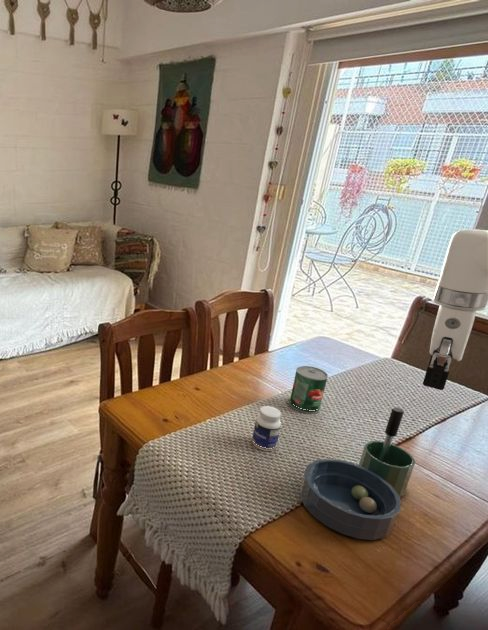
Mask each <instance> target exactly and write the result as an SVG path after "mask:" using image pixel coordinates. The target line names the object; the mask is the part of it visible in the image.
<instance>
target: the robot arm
mask: <svg viewBox="0 0 488 630" xmlns="http://www.w3.org/2000/svg"><path fill="white" fill-rule="evenodd" d="M432 302H433V303H434V304H436V305H439V307H438V310H437V314H436V316H435V321H434V325H433V330H432V333H431V339H430V346H429V351H428V352H429V355H430V358H429V362H428V366H427V368H426V371H425V375H424V378H423V381H422V385H423V386H424V387H427V388H431V389H435V390H439V391H443V390H444V389H445V386H446V383H447V380H448V377H449V374H450V365H451V362H452V360H456V361H457V362H461V361H462V360H463V356H464V353H465V350H466V347H467V344H468V341H469V338H470V336H471V332H472V329H473V326H474V323H475V319H476V314H477V312H481V311H485V310H486V307H487V304H488V230H487V229H486V230H485V229H460V230H458V231H456V232H454V233H453V234H452V236H451V238H450V240H449V244H448V248H447V251H446V255H445V258H444V261H443V265H442V268H441V272H440V276H439V279H438V281H437V284H436V288H435V292H434V296H433V299H432Z"/></svg>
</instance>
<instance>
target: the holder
mask: <svg viewBox="0 0 488 630" xmlns="http://www.w3.org/2000/svg"><path fill="white" fill-rule="evenodd" d="M383 444H384V441H381V440H370V441H368V442H365V444H364V446H363V449H362V452H361V456H360V459H359V462H358V465H359V466H361V467H364V468H366V469H368V470H370V471H372V472H373V473H375V474H377V475H379V476H380V477H381V478H383V479H384V480H385V481H386V482H388V483H389V484H390V485H391V486H392V487H393V488H394V490H395V491H396V492H397V494H398V495H399V498H402V497H403V496H404V494H405V493H406V490H407V487H408V484H409V481H410V479H411V477H412V473H413V470H414V467H415V465H416V460H415V458H414V457H413V455H412V454H411V453H410V452H409V451H407V450H406V449H404V448H402V447H400V446H399V445H396V444H393V443H391V445H390V449H389V452H388V455H387V458H386V461H385V463H384V462H382V461H380V460H379V457H380V454H381V451H382V447H383Z"/></svg>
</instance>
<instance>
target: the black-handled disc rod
mask: <svg viewBox="0 0 488 630" xmlns="http://www.w3.org/2000/svg"><path fill="white" fill-rule="evenodd" d="M404 413H405V410H404V409H402V408H400V407H397V406H396V407H391V411H390V415H389V417H388V421H387V423H386V427H385V431H384V433H385V435H386V436H385V438H384V441H383V442H384V444H383V447H382V451H381V454H380V457H379V460H380V461H382V462H384V463H385V461H386V458H387V455H388V452H389V449H390V445H391V444H392V442H393V439H394V438H395V437H396V436H397V434H398V431H399V428H400V425H401V422H402V419H403V416H404Z"/></svg>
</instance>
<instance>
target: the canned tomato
mask: <svg viewBox="0 0 488 630" xmlns="http://www.w3.org/2000/svg"><path fill="white" fill-rule="evenodd" d="M328 377H329V375H328V373H327V372H326V371H324V370H323V369H321V368H319V367H315V366H310V365H300V366H298V367H296V370H295V376H294V379H293V384H292V389H291V394H290V398H289V401H288V403H289V405H290V407H291V408H292V409H293V410H295V411H297V412H300V413H303V414H307V415H312V414H317V413H319V412H320V410H321V405H322V402H323V397H324V393H325V389H326V384H327V381H328ZM290 401H291V402H290ZM293 404H294V405H295V406H294V405H293ZM296 406H297V407H296ZM298 407H299V408H298ZM300 408H302V409H300ZM303 409H306V410H303ZM307 409H308V410H307ZM316 409H318V410H316ZM309 410H315V411H309Z"/></svg>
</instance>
